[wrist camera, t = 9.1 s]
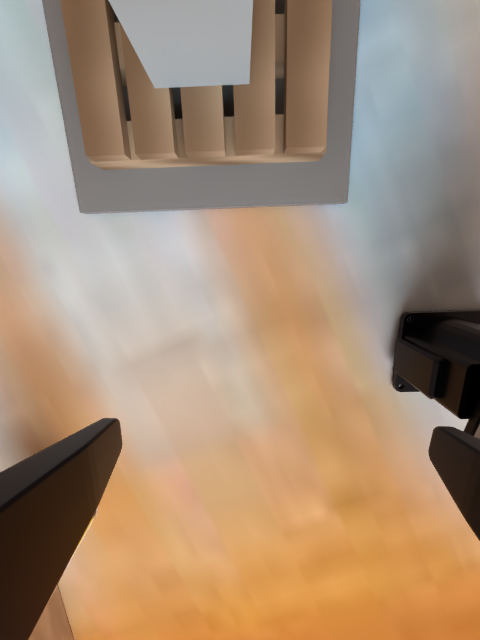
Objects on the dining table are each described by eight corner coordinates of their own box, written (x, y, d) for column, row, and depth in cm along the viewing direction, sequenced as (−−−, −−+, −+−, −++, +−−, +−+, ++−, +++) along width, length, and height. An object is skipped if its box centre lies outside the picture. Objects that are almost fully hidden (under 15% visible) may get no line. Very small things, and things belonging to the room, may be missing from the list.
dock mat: (360, -71, 14) (365, -85, 14) (343, 203, 18) (347, 202, 17) (39, -53, 14) (30, -66, 14) (85, 213, 18) (80, 212, 17)
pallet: (327, -70, 14) (344, -136, 11) (318, 161, 16) (331, 145, 14) (69, -55, 14) (34, -117, 12) (102, 170, 17) (80, 156, 14)
